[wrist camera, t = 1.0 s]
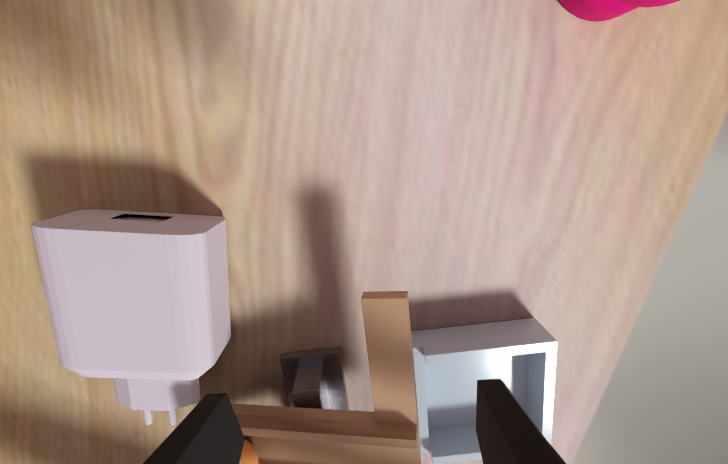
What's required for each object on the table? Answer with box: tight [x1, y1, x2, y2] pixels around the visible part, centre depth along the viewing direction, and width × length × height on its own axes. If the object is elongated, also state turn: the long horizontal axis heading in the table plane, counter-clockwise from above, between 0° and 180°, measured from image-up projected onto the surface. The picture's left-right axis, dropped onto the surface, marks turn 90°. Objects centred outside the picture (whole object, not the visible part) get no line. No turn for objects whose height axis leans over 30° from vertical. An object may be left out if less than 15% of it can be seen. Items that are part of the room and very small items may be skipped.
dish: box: [411, 318, 557, 464], centre depth 25 cm, size 9×9×3 cm
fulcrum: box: [280, 347, 349, 410], centre depth 25 cm, size 8×4×4 cm, turn 6°
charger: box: [31, 209, 231, 426], centre depth 22 cm, size 5×9×15 cm
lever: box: [231, 291, 421, 464], centre depth 20 cm, size 13×14×3 cm
